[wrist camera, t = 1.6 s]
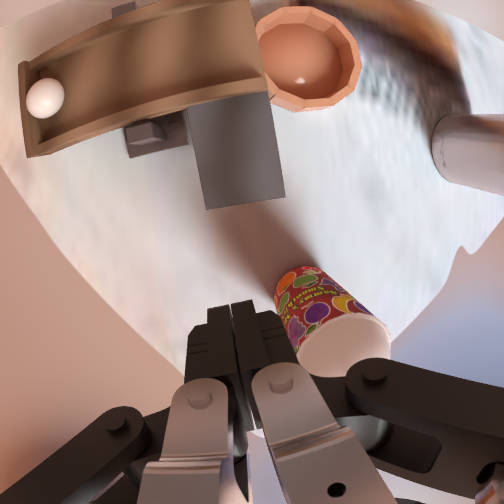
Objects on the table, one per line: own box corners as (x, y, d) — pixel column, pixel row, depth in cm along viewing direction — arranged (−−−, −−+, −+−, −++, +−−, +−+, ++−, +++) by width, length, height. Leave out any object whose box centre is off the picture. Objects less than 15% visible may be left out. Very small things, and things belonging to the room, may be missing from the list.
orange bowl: (335, 19, 26) (347, 8, 23) (354, 107, 30) (369, 104, 27) (237, 22, 26) (240, 9, 22) (255, 117, 29) (261, 113, 26)
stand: (168, 22, 25) (157, -12, 17) (188, 144, 29) (181, 141, 22) (114, 37, 24) (89, 9, 17) (131, 158, 29) (106, 160, 21)
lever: (249, 5, 20) (245, -24, 15) (283, 191, 26) (287, 203, 20) (51, 71, 22) (18, 64, 17) (79, 230, 27) (48, 248, 22)
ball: (70, 72, 19) (39, 70, 16) (74, 108, 20) (42, 110, 17) (47, 87, 20) (17, 89, 17) (51, 122, 21) (21, 126, 18)
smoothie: (295, 240, 34) (388, 345, 15) (347, 278, 36) (448, 384, 17) (250, 299, 35) (290, 441, 16) (304, 331, 38) (368, 458, 19)
